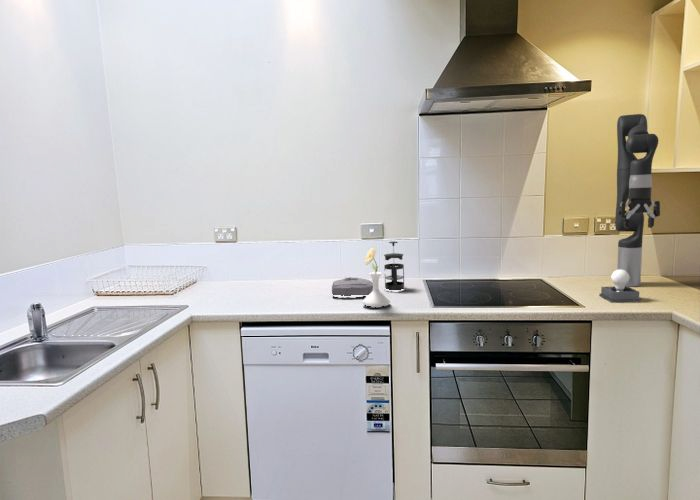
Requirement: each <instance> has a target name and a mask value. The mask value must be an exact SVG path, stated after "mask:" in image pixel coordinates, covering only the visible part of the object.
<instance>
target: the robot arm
mask: <svg viewBox="0 0 700 500" xmlns="http://www.w3.org/2000/svg"><path fill="white" fill-rule="evenodd" d="M616 122H617V123H616V132H617V133H616V136H617V137H616V138H617V140H616V141H617V164H616V205H615V206H616V207H615V216H614V217H615V220H614V226H615V229H616V231H617V232H633V234H631V235H630V236H628V237H625V238H621V239H619V240H618V242H617V265H616V266H617V269H616V270H618V269H622V270H625V271H626V272H628V274H629V281H628V283H627V284H626V285H625V286H628V287H639V286H641V283H642V282H641V281H642V280H641V279H642V278H641V277H642V260H643V258H642V256H643V239H644V238H643V235H644V225H645V215H647V216H648V218H647V228H651V229H652V228H653V227H654V225H655V218H657V217H659V216H660V215H661V201H659V200H654V201H652V188H653V186H652V185H653V183H652V182H653V181H652V180H653V178H652V169H653V167H652V166H653V160H654V156H655V153H656V151H657V149H658V146H659V145H658V144H659V137H658V136H657V135H656V133H649V132H648V119H647V116H646V115H645V114H642V113H637V114H625V115H624V114H623V115H620V116H619V117H618V119H617V121H616ZM642 153H646V155H645V156H643V157H641V158H637V157H636V155H635V154H642ZM651 206H652V207H653V208H652V209H651V208H650V207H651ZM626 208H628V210H626Z"/></svg>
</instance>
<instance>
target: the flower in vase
mask: <svg viewBox="0 0 700 500" xmlns="http://www.w3.org/2000/svg"><path fill="white" fill-rule="evenodd" d="M376 252H377V250H376V247H375V246H373V247H371V248H370V249H369V250H368V251H367V253H366V256H365V257H364V259H365V260H364V264H365V266H366V265H367V266H368V265H370V263H372V261H374V262H375V264H374V263H372V264H371V266H370V267H371V269H373V270H374V271H372V272H369V273H368V274H369V275H370V277H371V279H372V281H371V282H373V291H372V292H371V293H370V294H369V295H368V296H367V297H364V299H363V300H362V304H363V306H365V305H366V306H365V307H367V306H371V307H370V308H375V307H376V308H383V307H382V306H384V307H386V306H388V305H390V304H391V300H390V298H388V296H386V295H385V294H383V293H382V292H381V291H380V288H379V286H380V285H379V281H380V277H381V275H382V272H380V271H378V268H379V266H378V264H377V261H376V260H375V257H376Z"/></svg>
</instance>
